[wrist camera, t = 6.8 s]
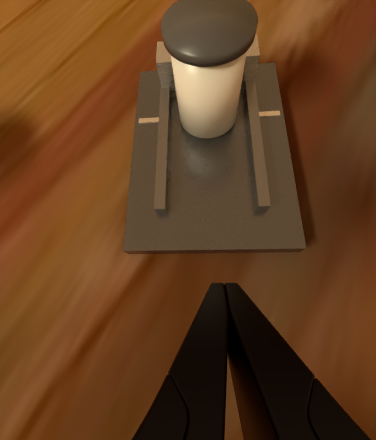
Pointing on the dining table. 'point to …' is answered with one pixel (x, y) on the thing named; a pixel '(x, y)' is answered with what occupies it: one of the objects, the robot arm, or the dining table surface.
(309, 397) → the robot arm
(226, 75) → the knob
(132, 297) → the dining table surface
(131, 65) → the dining table surface
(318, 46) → the dining table surface
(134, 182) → the knob mount
